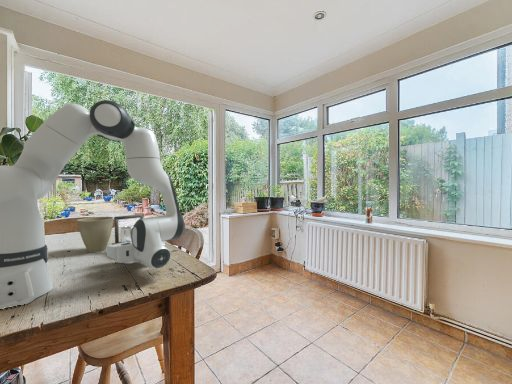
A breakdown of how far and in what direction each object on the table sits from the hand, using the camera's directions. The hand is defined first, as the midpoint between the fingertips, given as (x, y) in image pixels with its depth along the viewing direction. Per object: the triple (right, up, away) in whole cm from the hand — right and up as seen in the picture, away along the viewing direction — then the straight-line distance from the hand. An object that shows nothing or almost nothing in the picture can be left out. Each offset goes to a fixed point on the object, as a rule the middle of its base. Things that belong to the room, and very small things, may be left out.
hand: (129, 243), depth 99 cm
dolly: (-5, -7, +14) cm, 17 cm away
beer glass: (+1, -8, 0) cm, 8 cm away
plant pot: (-25, -7, +16) cm, 31 cm away
